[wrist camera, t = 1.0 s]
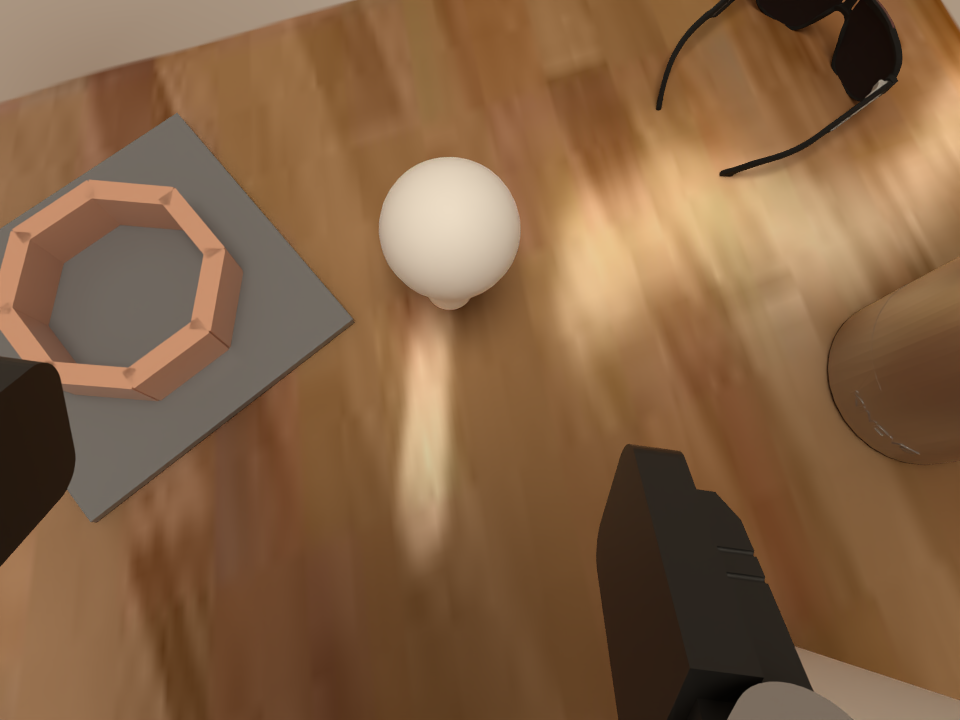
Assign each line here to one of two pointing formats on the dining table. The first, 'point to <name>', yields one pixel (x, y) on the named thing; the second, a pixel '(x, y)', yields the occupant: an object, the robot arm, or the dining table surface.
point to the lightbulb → (449, 230)
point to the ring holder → (155, 307)
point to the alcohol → (874, 692)
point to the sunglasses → (856, 60)
